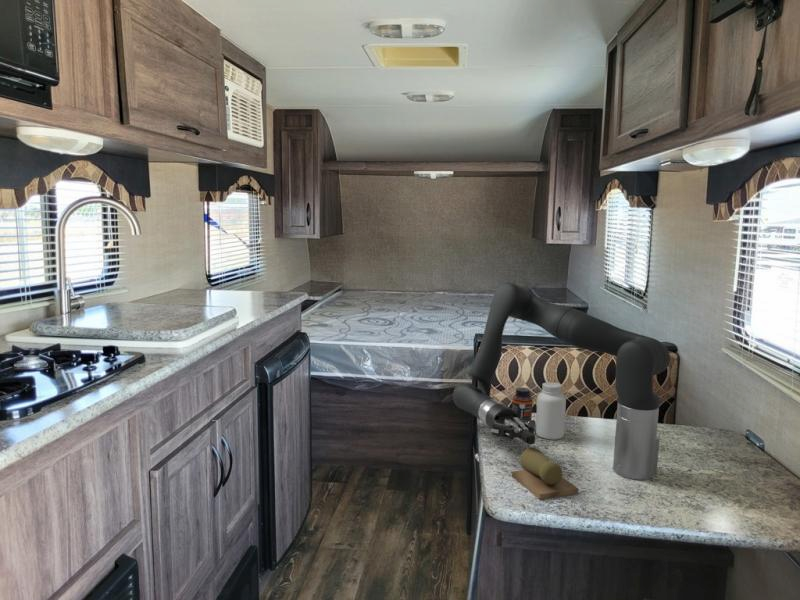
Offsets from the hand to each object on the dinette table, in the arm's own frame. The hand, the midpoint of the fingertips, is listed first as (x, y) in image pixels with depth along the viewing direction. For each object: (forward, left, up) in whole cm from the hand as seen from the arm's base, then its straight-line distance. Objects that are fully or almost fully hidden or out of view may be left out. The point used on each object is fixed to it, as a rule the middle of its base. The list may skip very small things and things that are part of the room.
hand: (532, 440), depth 137 cm
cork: (-1, -1, -5) cm, 6 cm away
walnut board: (0, +6, -9) cm, 10 cm away
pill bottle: (-19, -21, -9) cm, 29 cm away
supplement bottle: (-15, -30, -9) cm, 34 cm away
